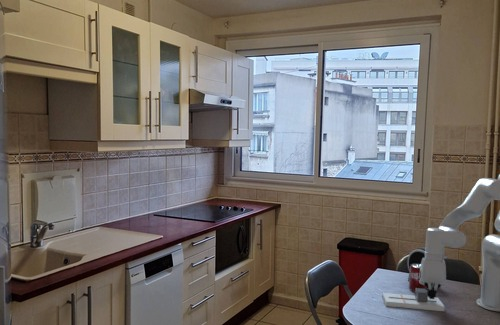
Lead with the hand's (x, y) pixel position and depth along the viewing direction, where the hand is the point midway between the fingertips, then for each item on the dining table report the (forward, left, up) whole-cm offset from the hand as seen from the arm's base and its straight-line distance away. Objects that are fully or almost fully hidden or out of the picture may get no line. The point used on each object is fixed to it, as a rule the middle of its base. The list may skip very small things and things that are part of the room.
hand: (431, 297), depth 181 cm
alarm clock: (-3, -29, -4) cm, 29 cm away
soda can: (+2, -18, -4) cm, 19 cm away
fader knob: (+4, 0, -1) cm, 4 cm away
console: (+8, 0, -4) cm, 8 cm away
